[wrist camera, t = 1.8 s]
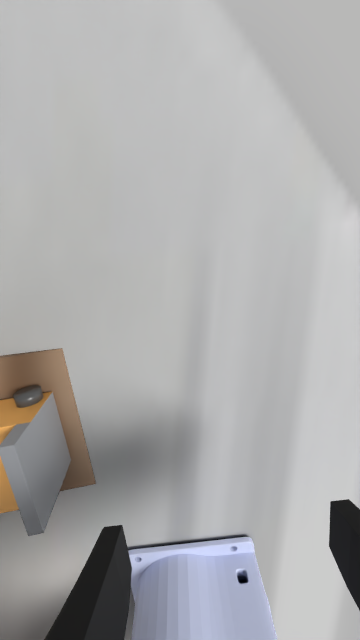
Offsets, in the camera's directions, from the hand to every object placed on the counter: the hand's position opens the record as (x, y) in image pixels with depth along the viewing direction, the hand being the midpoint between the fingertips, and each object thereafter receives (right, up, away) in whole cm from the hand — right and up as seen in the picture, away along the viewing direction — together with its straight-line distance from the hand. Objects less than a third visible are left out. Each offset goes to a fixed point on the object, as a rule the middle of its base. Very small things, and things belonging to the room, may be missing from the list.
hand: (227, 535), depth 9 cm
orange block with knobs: (-12, 0, +8) cm, 14 cm away
